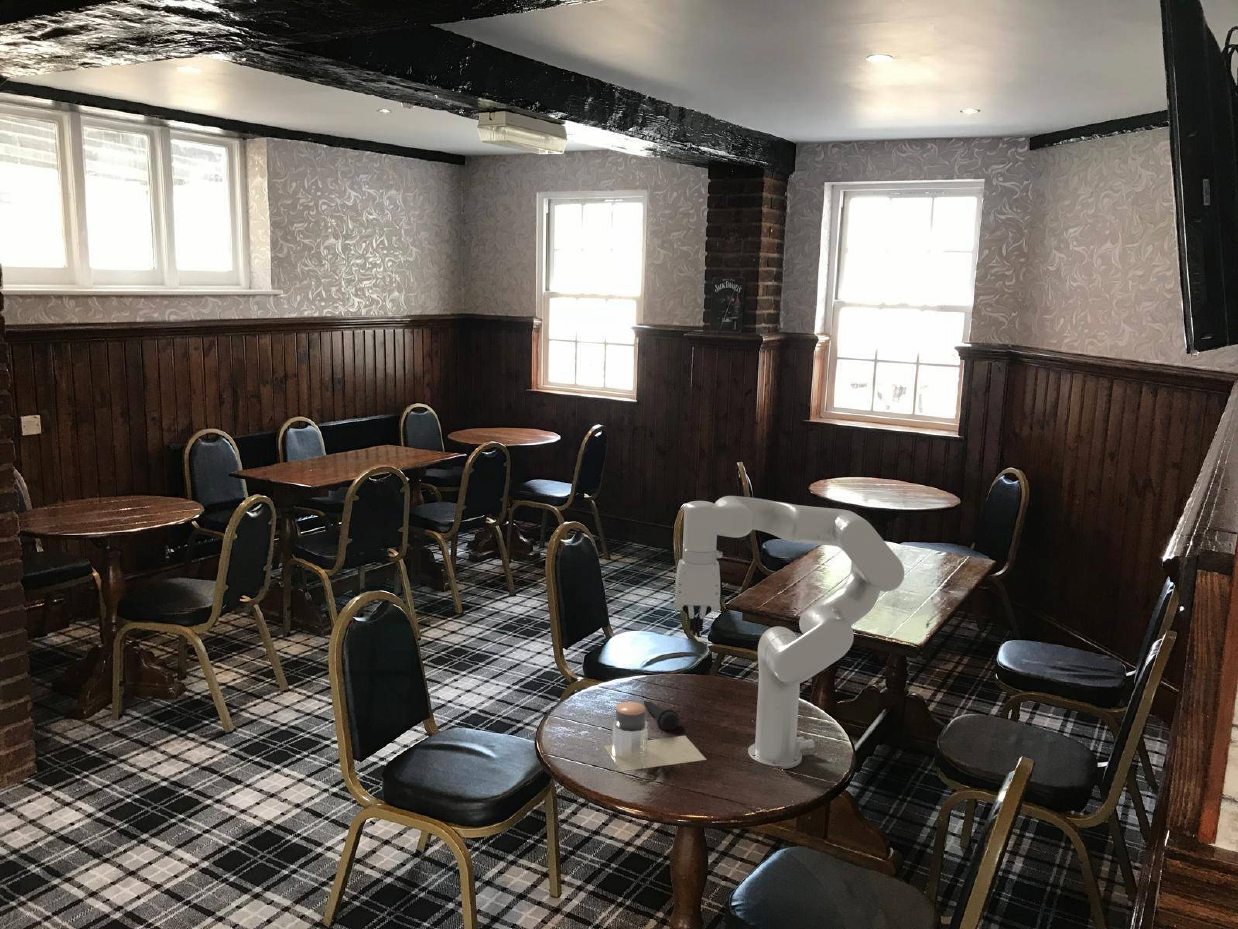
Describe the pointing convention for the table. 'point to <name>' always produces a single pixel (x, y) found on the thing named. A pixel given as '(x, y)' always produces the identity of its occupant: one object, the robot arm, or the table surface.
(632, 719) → the peach ball on collar
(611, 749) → the cylinder on base plate
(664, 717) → the microphone
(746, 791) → the table surface
